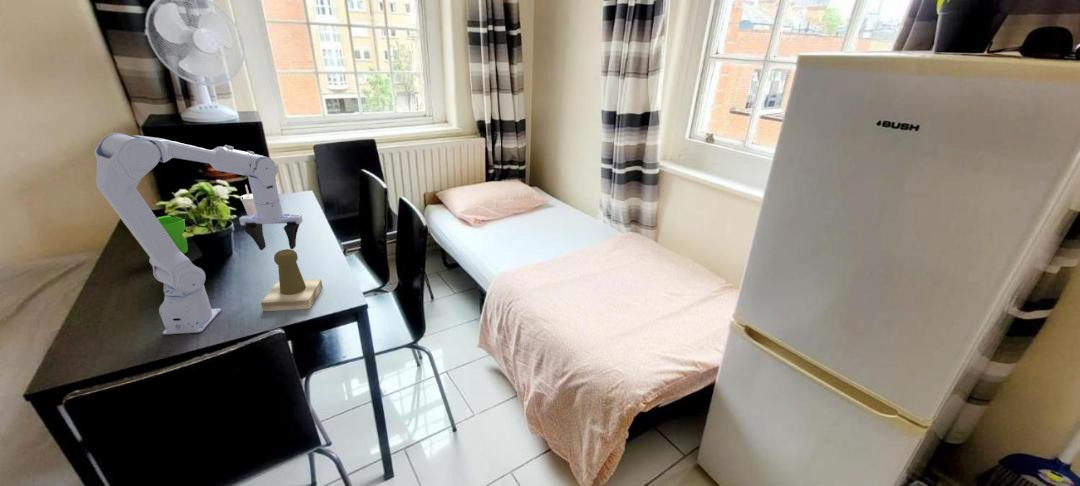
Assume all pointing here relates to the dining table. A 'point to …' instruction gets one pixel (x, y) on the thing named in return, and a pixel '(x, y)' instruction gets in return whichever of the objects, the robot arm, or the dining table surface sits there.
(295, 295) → the birch riser block
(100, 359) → the dining table surface
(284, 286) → the cork
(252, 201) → the smoothie
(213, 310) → the robot arm
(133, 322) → the dining table surface
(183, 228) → the cup
